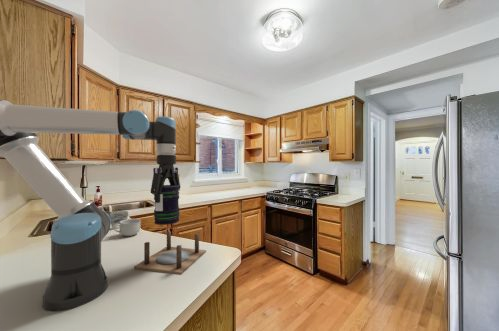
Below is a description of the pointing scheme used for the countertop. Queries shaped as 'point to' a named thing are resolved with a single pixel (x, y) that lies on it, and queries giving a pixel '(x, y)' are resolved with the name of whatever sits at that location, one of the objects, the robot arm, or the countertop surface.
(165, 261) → the walnut stand
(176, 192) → the storage jar
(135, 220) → the teacup
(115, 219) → the ceramic fragment
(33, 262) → the countertop surface
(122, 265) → the countertop surface
